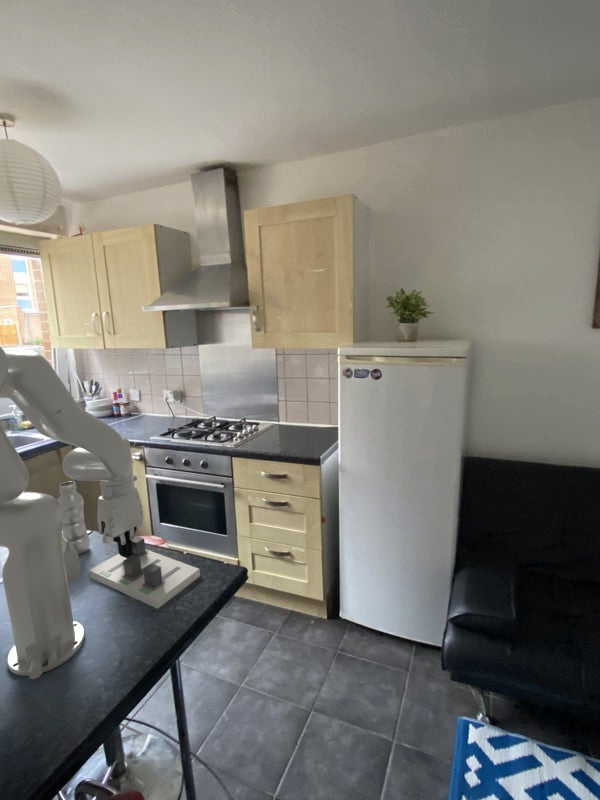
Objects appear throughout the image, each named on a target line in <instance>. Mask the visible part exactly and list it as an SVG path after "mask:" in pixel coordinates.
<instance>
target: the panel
mask: <svg viewBox="0 0 600 800" xmlns="http://www.w3.org/2000/svg"><path fill="white" fill-rule="evenodd" d="M145 550H147V551H148V552H147V553H145V554H144V555H142V556H140V557H139V559H140V562H141V570H142V571H143V569H144V568H145V567H147V566H148V565H150V564H155V565H157V566H160V567H161V574H162V580H165V582H164V583H163V584H161V585H160V586H158V587H157V588H156V589H154V590H151V589H148V588H146V587H144V586H142V585H143V584H144V583H145V580H144V574H143V575H141V576H140V577H138V578H137V579H135V580H134V581H130V580H128V579H125V578H123V577H122V576H123V575H125V571H124V563H123V561H124V560H125V559H127V558H125V557H122V556H120V554H119V553H117V554H116V555H114V556H111V557H110V558H108V559H107V560H105V561H103V562H101V563H99V564H98V565H96V566H95V567H93V568H91V569H89V578H91V579H92V580H95V581H97V582H99V583H101V584H102V585H105V586H107V587H110V588H111V589H114V590H117V591H118V592H120V593H123V594H124V595H127V596H129V597H131V598H134V599H136V600H138V601H140V602H142V603H144V604H146V605H149V606H151V607H153V608H155V609H157V610H158V609H159V608H161V607H163V605H164V604H166V603H167V602H169V600H171V599H172V598H174V597H175V596H176V595H178V594H179V593H181V592H182V591H183V590H185V589H186V588H187V587H188V586H189V585H190V584H192V583H194V581H196V580H197V579H198V578H199V577H201V572H200V568H198V567H195V566H193V565H190V564H187V563H184V562H182V561H179V560H176V559H174V558H172V557H171V558H170V557H168V556H165V555H163V554H160V553H158V552H157V553H156V552H154V551H153V550H152V551H151V550H149V549H146V548H145Z"/></svg>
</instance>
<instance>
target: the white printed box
mask: <svg viewBox="0 0 600 800" xmlns="http://www.w3.org/2000/svg"><path fill="white" fill-rule="evenodd" d="M62 550H63V558H64V565H65V571H66V577H67V583H68V582H71V581H73V580H75V579H78V578H81V577H82V572H81V563H80V557H79V556H80V555H78V553H77V552H76V550H75V549H74V548H73V546H72V545H71V543H70V542H69V541H68V540H67V539H66V538H65V537H64V535H63V533H62Z"/></svg>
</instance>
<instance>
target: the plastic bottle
mask: <svg viewBox="0 0 600 800" xmlns="http://www.w3.org/2000/svg"><path fill="white" fill-rule="evenodd" d="M59 493H60V495H59V497H58V498H57V500H58V501H59V503H60V504H61V506H62V509H63V527H62V534H63V535H64V537H65V538H66V539H67V540H68V541H69V542H70V543H71V545H72V546H73V548H74V549H75V550H76V552H77V553H78V556H80V555H82V554H84V553H85V552H87V551H88V549H89V548H90V545H91V540H90V537H89V534H88V531H87V527H86V524H85V514H84V504H85V503H84V498H83V496H82V494H80V493H79V492H78V491H77V486H76V482H75V480H74V481H71V480H70V481H65V482H62V483H60V484H59Z"/></svg>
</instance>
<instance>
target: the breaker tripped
mask: <svg viewBox="0 0 600 800" xmlns="http://www.w3.org/2000/svg"><path fill="white" fill-rule="evenodd" d="M132 545H133V555H132V556H134V557H137V558H139V557H140V556H142V555H144V554H145V553H147V552H148V551H147V550H148V549H147V550H145V549H146V543H145V537H141V536H138V535H134V539H133V540H132Z"/></svg>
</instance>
